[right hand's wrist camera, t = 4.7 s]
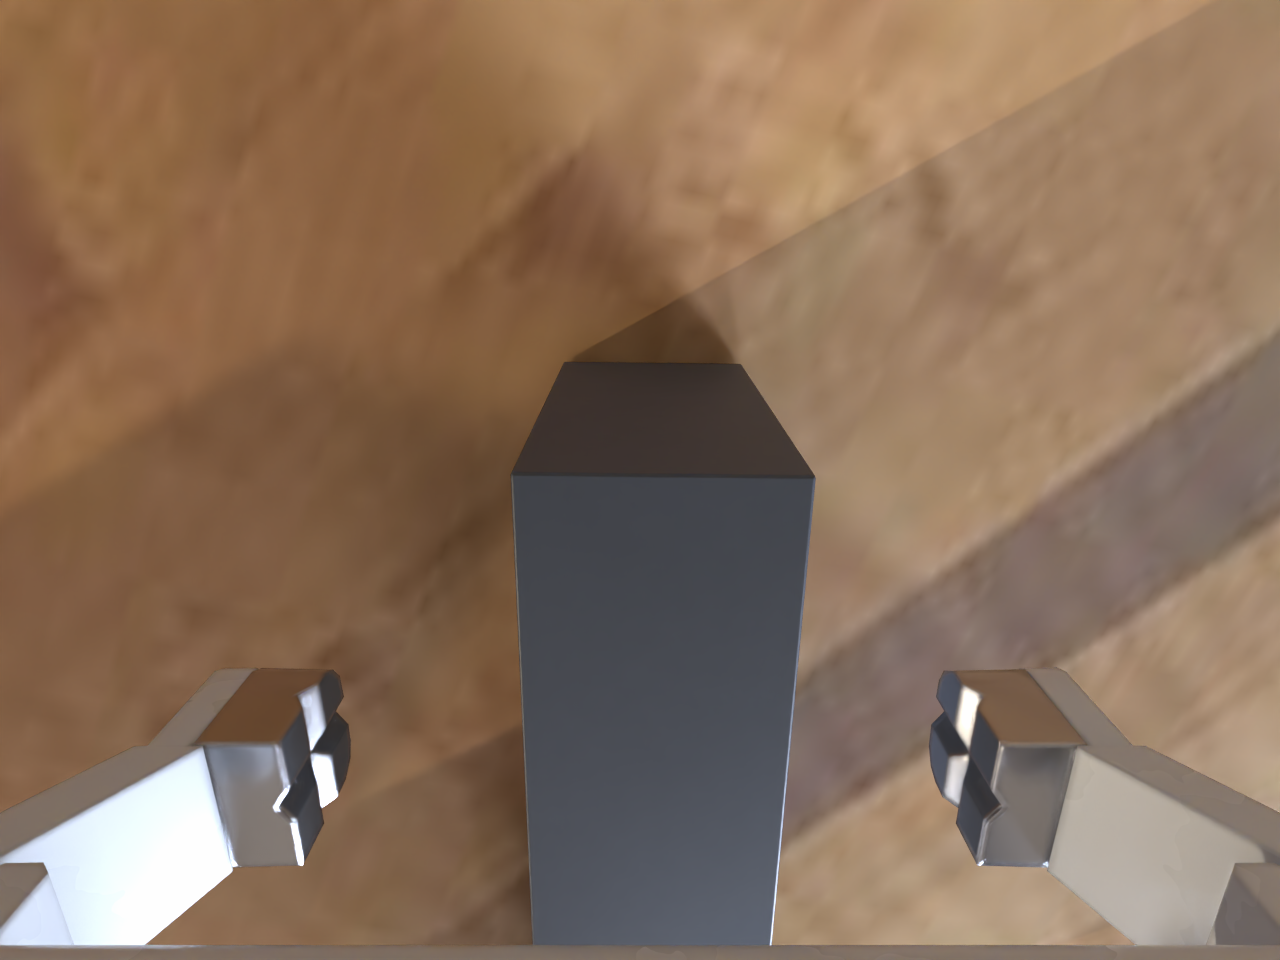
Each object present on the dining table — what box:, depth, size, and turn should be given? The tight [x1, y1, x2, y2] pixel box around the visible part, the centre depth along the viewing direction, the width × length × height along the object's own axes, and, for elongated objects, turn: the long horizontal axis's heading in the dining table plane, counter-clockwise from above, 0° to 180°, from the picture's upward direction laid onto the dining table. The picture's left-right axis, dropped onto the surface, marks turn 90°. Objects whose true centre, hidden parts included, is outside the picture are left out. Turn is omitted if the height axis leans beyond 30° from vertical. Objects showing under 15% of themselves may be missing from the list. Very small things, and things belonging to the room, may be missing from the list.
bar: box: [511, 362, 816, 945], centre depth 20 cm, size 27×4×9 cm, turn 179°
